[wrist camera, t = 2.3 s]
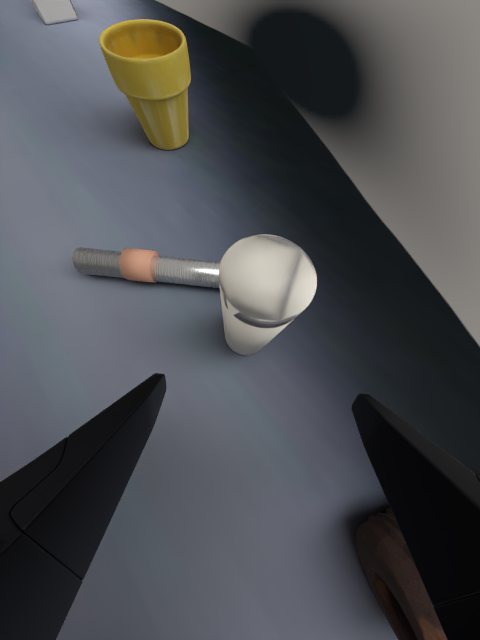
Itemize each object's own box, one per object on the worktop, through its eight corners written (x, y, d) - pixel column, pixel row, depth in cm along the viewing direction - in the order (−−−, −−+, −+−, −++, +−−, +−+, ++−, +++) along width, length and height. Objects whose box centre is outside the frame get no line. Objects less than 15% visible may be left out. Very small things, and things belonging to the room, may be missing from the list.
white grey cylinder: (265, 357, 21) (318, 326, 9) (222, 353, 21) (212, 315, 8) (267, 316, 22) (315, 239, 10) (227, 311, 22) (224, 229, 10)
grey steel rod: (296, 302, 23) (307, 289, 20) (87, 280, 23) (62, 263, 19) (295, 277, 24) (306, 261, 21) (97, 256, 24) (75, 235, 20)
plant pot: (125, 131, 31) (81, 27, 22) (177, 112, 34) (157, 10, 24) (158, 167, 29) (124, 68, 20) (211, 143, 32) (203, 45, 22)
